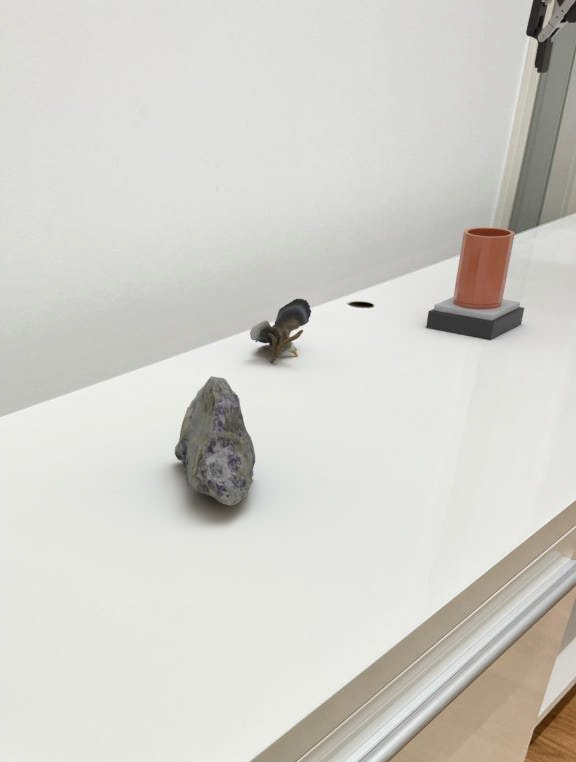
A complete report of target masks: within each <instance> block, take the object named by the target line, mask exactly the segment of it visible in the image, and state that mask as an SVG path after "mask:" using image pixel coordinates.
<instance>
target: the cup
mask: <svg viewBox="0 0 576 762" xmlns="http://www.w3.org/2000/svg"><path fill="white" fill-rule="evenodd" d="M515 235H516V233H515V232H514V231H512V230H510V229H505V228H502V227H501V228H500V227H489V226H488V227H487V226H486V227H472V228H467V229H465V230H463V234H462V241H461V247H460V253H459V260H458V266H457V272H456V279H455V285H454V291H453V296H452V297H453V303H454V304H455V305H457V306H460V307H464V308H470V309H493V308H497V307H500V306H501V305H502V300H503V299H504V294H505V289H506V284H507V283H506V282H507V277H508V272H509V267H510V261H511V255H512V249H513V245H514V239H515Z"/></svg>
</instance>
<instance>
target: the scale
mask: <svg viewBox="0 0 576 762" xmlns="http://www.w3.org/2000/svg"><path fill="white" fill-rule="evenodd" d="M453 297H454V296H451V297H450V298H447V299H445V300H443V301H441V302H438V303H436V304H434V307H433V308H432V309H430V310H428V313H427V318H426V325H425V328H427V329H433V330H437V329H438V330H437V331H443V330H444V331H443V332H448V331H449V333H453V332H454V333H455V334H459V335H464V334H465V335H464V336H469V335H471V336H470V337H474V336H476V337H475V338H480V337H481V339H486V340H490V339H491V340H493V339H494V338H495V339H496V337H497V338H498V336H501V335H502V334H505V333H506V332H508V331H510V330H513V329H514V328H517V327H518V326H520V325H522V322H523V318H524V311H525V307H523V306H520V305H521V301H517V300H511V299H505V298H503V300H502V305H501V306H500V307H497V308H493V309H470V308H464V307H460V306H457V305H455V304H454V303H453ZM460 333H461V334H460Z"/></svg>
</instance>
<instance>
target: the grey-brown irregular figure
mask: <svg viewBox="0 0 576 762" xmlns="http://www.w3.org/2000/svg"><path fill="white" fill-rule="evenodd" d="M311 314H312V310H311V305H310V303H309V302H308V300H307V299H304V298H295V299H293V300H292V301H289V302H288V303H286V304H285V305H284V306H282V307H281V308H279V309H278V311H277V316H276V318H275V320H274V324H273V325H271V324H270V321H268V320H262V321H261V322H259V323H257V324H255V325H254V326H253V327H251V329H250V331H249V336H250V339H251V340H252V341H254V342H255V343H261V344H265V345H264V346H263V347H264V349H268V350H271V358H270V364H274V362H275V361H277V359H278V358H279V357H280V356H281V353H282V352H283V350H286V351H288V352H289V353H291V354H293V355H294V356H295V357H298V356H299V355H298V352H297V347H296V346H295V344H294V342H293V341H295V340H297V339H299V338H300V337H301V335H302V334H303V332H304V329H300V330H299V331H297V333H295V334H293V335H292V336H290V335H291V333H292V332H293V331H295V330H298V329H299V328H300V327H303V326H306V325H307V324H308V323H309V321H310V317H311Z"/></svg>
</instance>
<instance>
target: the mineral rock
mask: <svg viewBox="0 0 576 762" xmlns="http://www.w3.org/2000/svg"><path fill="white" fill-rule="evenodd" d="M240 402H241V401H240V397H239V396H238V394H236V392H235V391H234V390H233V389H232V388H231V386H230V384H229V382H228V380H227V379H226V378H224V377H219V376H212V375H211V376H210V377H209V378H208V379H207V381H205V383H204V384H203V386H201V387H200V389H199V390H198V391H197V392H196V395H195V397H194V398H193V399H192V400H191V402H190V404H189V406H188V407H187V408H186V411H185V414H184V417H183V420H182V423H181V427H180V431H179V438H178V442H177V444H176V445H175V446H174V456H175V458H176V459H177V460H178V461H180V462H181V463H182V465H183V470H184V472H186V483H187V486H188V489H191V490H192V491H194V492H196V493H199V494H204V495H207V496H209V497H212V498H213V499H215V500H216V501H217V502H219V503H221V504H223V505H226V506H235V505H237V504H239V503H240V502H242V500H244V499H246V498H247V497H248V493H249V490H250V487H251V485H252V484H253V483H254V479H253V477H254V475H255V474H254V467H255V465H256V452H255V447H254V443H253V440H252V437H251V435H250V434H249V432H248V430H247V427H246V425H245V421H244V416H243V413H242V409H241V403H240Z"/></svg>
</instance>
